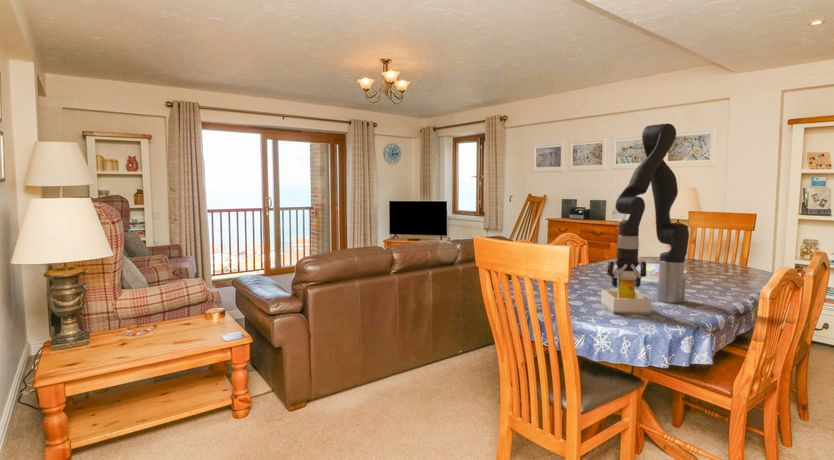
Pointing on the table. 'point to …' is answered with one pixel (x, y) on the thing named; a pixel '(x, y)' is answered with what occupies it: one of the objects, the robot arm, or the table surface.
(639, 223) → the robot arm
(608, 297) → the box
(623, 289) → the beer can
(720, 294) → the table surface
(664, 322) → the table surface
